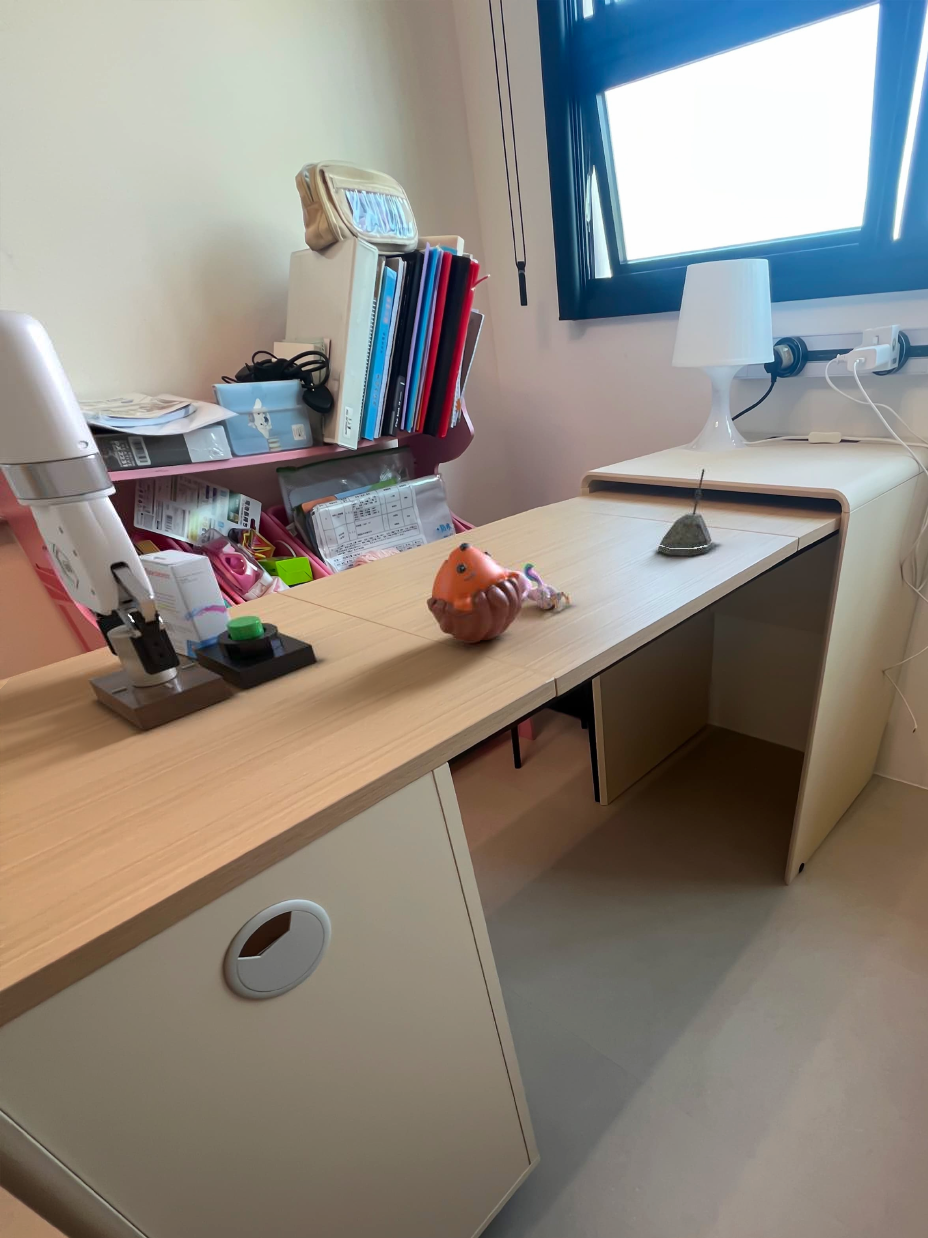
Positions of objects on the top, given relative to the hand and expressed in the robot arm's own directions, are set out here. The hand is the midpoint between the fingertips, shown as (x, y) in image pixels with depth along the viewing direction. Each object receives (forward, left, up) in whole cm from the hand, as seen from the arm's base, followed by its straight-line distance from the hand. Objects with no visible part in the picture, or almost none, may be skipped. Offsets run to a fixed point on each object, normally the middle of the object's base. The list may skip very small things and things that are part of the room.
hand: (146, 659), depth 69 cm
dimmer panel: (0, 0, -5) cm, 5 cm away
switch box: (0, +11, -5) cm, 12 cm away
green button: (0, +11, -1) cm, 11 cm away
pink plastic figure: (+12, +45, -5) cm, 47 cm away
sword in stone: (+18, +80, -5) cm, 82 cm away
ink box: (-10, +9, -5) cm, 15 cm away
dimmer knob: (0, 0, -2) cm, 2 cm away
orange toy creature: (+17, +32, -5) cm, 37 cm away
